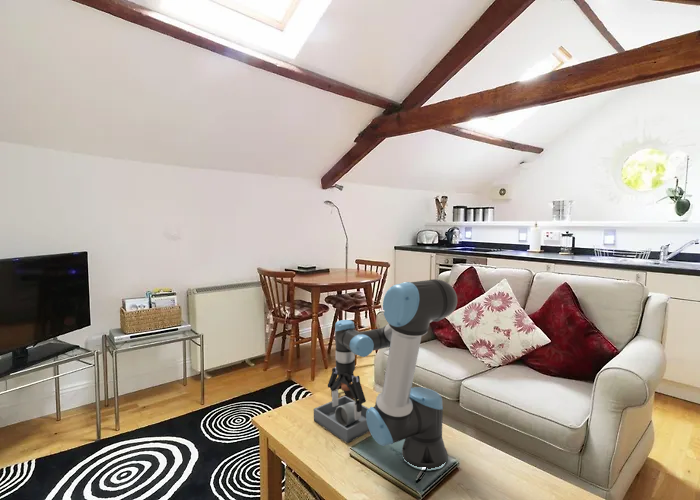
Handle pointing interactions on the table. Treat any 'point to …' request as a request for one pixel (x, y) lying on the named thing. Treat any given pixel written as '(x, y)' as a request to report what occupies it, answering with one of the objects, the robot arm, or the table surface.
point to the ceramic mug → (345, 414)
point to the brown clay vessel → (345, 390)
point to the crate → (327, 420)
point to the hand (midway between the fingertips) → (346, 412)
